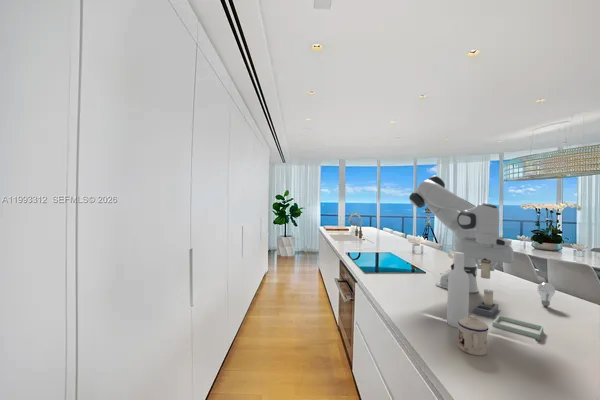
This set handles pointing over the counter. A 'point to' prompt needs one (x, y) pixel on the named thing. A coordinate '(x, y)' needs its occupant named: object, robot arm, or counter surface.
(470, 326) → the teacup with lid
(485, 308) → the fuse block
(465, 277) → the bottle
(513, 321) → the parts tray
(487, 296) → the fuse
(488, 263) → the fuse
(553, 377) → the counter surface
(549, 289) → the light bulb
